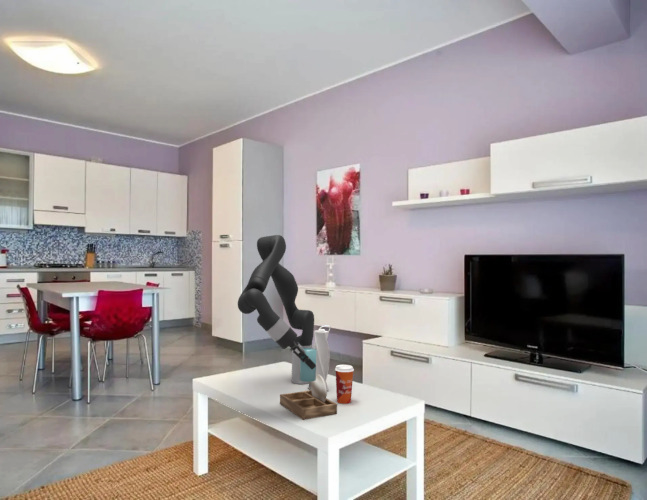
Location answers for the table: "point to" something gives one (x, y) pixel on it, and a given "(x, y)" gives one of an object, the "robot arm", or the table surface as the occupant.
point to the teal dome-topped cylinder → (305, 370)
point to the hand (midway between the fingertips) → (312, 365)
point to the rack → (310, 401)
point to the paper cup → (344, 383)
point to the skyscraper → (322, 353)
